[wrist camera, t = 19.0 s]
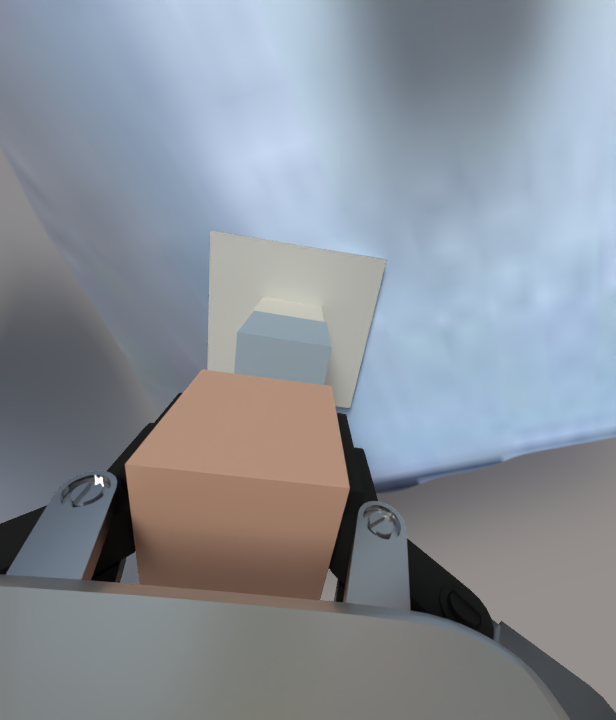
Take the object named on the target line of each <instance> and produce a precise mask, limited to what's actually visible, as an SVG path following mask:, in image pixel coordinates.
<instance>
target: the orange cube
mask: <svg viewBox="0 0 616 720" xmlns="http://www.w3.org/2000/svg"><path fill="white" fill-rule="evenodd" d="M125 470H126V478H127V486H128V494H129V502H130V510H131V518H132V526H133V534H134V542H135V550H136V558H137V566H138V573H139V582H140V585H153V586H165V587H176V588H188V589H200V590H211V591H223V592H234V593H245V594H257V595H268V596H279V597H290V598H300V599H311V600H320V598H321V594H322V590H323V586H324V583H325V579H326V575H327V572H328V568H329V564H330V560H331V557H332V553H333V549H334V546H335V542H336V538H337V534H338V531H339V527H340V523H341V520H342V516H343V512H344V508H345V505H346V501H347V497H348V493H349V490H350V486H349V480H348V475H347V469H346V463H345V458H344V452H343V446H342V441H341V435H340V430H339V424H338V418H337V413H336V407H335V401H334V396H333V390H332V386H327V385H320V384H312V383H304V382H296V381H288V380H280V379H273V378H265V377H257V376H249V375H241V374H234V373H226V372H218V371H210V370H201V371H200V373H199V374H198V375H197V376H196V378H195V379H194V380H193V381H192V382H191V384H190V385H189V386H188V387H187V389H186V390H185V391H184V392H183V394H182V395H181V396H180V397H179V398H178V400H177V401H176V402H175V403H174V405H173V406H172V407H171V408H170V409H169V411H168V412H167V413H166V414H165V416H164V417H163V418H162V419H161V420H160V422H159V423H158V424H157V425H156V427H155V428H154V429H153V430H152V432H151V433H150V434H149V435H148V436H147V438H146V439H145V440H144V441H143V443H142V444H141V445H140V446H139V447H138V449H137V450H136V451H135V452H134V454H133V455H132V456H131V457H130V459H129V460H128V461H127V462H126V463H125Z"/></svg>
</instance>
